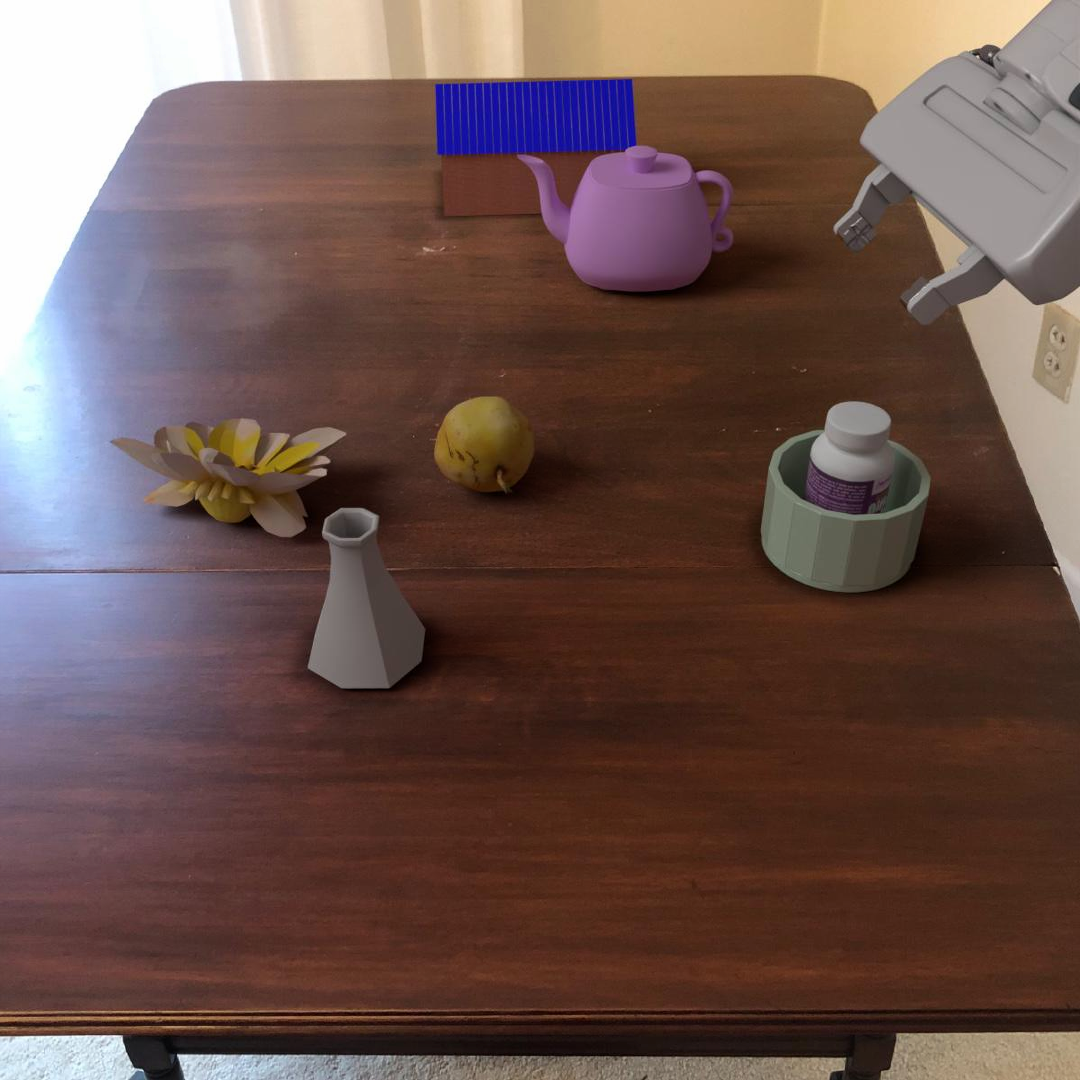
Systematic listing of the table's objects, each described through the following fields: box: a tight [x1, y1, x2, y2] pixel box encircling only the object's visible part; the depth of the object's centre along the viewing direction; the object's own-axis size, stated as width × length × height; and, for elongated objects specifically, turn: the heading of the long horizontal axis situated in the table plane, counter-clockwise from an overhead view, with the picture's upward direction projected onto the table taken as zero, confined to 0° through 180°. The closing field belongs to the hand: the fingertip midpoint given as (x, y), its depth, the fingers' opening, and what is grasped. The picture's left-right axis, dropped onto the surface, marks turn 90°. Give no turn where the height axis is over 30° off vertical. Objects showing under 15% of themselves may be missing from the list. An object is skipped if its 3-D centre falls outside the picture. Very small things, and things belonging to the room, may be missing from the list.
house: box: [434, 78, 638, 217], centre depth 127 cm, size 12×20×12 cm, turn 93°
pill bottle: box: [804, 400, 895, 515], centre depth 80 cm, size 5×5×10 cm
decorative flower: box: [109, 417, 347, 538], centre depth 85 cm, size 15×11×10 cm
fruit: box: [433, 394, 535, 495], centre depth 87 cm, size 7×7×10 cm
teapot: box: [517, 145, 734, 293], centre depth 112 cm, size 20×13×12 cm, turn 89°
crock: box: [760, 429, 932, 594], centre depth 81 cm, size 10×10×6 cm
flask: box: [307, 507, 426, 689], centre depth 72 cm, size 7×7×10 cm
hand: (875, 276), depth 71 cm, fingers open, 8 cm apart
